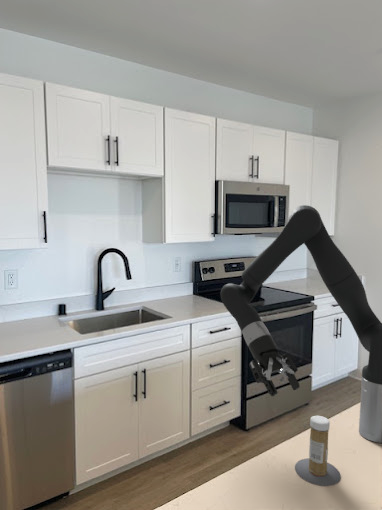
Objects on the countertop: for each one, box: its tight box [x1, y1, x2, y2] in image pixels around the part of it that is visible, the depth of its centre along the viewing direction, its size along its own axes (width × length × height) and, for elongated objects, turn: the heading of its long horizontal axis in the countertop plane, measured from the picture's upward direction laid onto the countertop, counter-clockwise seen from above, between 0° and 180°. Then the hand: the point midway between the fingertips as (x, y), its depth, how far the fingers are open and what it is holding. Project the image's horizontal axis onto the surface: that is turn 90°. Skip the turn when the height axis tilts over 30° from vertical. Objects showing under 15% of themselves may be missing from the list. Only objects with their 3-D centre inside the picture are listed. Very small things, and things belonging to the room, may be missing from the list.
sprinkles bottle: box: [308, 415, 331, 476], centre depth 97 cm, size 5×5×13 cm
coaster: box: [294, 457, 342, 487], centre depth 97 cm, size 11×11×1 cm
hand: (286, 392), depth 106 cm, fingers open, 8 cm apart
